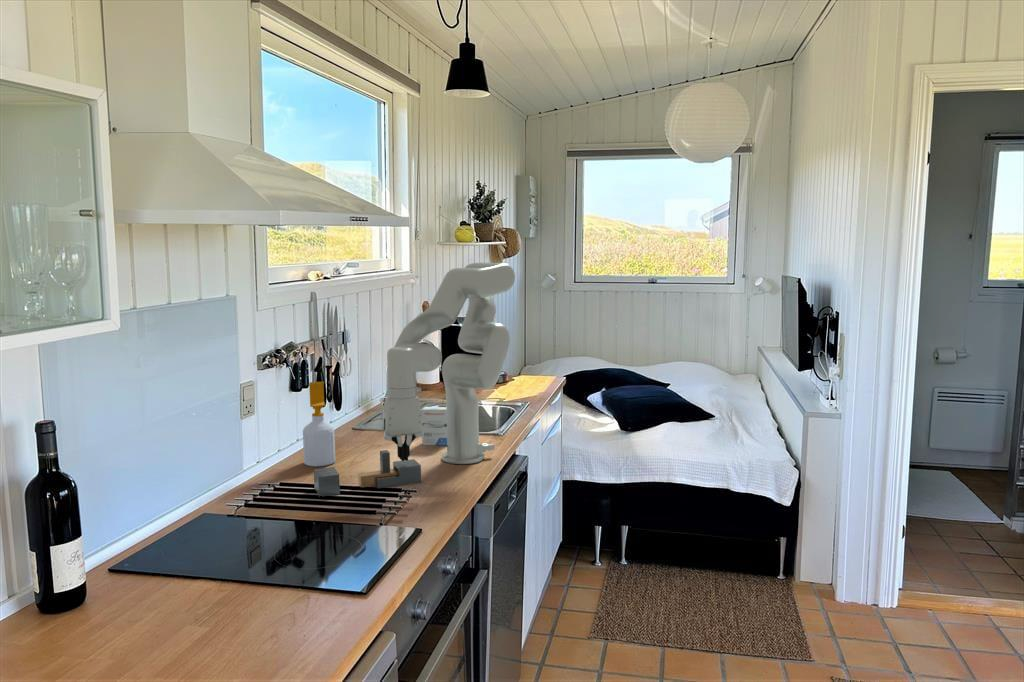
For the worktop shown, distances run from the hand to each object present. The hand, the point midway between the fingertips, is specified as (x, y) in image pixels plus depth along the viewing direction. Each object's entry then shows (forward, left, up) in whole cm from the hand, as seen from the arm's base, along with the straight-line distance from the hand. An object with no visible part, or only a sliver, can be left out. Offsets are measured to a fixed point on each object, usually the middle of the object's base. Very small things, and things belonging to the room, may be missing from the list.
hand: (403, 459), depth 211 cm
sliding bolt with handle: (+4, 0, -6) cm, 7 cm away
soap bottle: (+18, -28, -6) cm, 34 cm away
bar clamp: (+9, 0, -6) cm, 11 cm away
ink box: (-20, -34, -6) cm, 40 cm away
